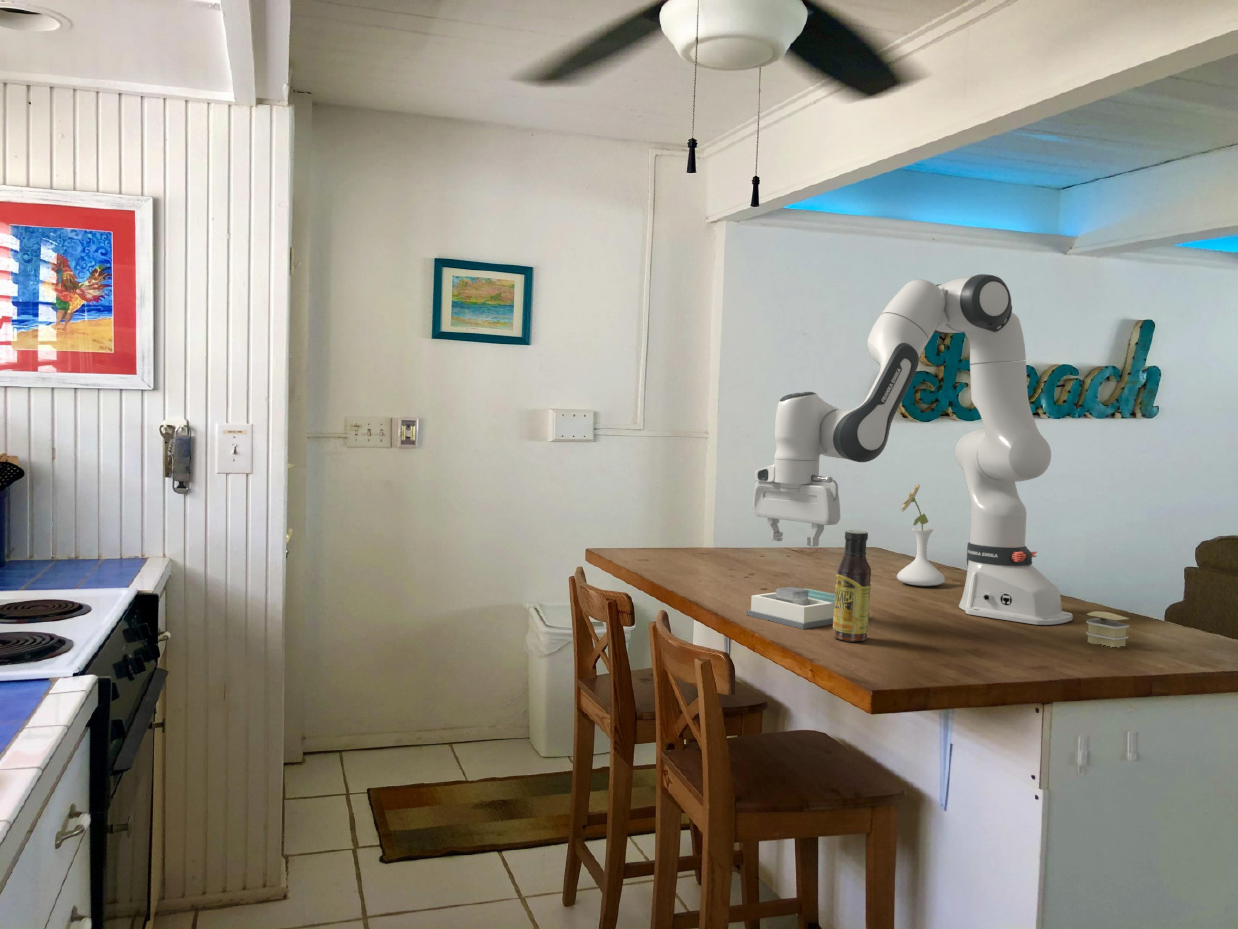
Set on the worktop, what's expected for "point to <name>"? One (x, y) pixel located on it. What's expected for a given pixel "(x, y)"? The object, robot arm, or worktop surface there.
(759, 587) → the worktop surface
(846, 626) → the sauce bottle
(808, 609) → the holder
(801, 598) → the steel block
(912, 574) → the flower in vase
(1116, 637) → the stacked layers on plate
